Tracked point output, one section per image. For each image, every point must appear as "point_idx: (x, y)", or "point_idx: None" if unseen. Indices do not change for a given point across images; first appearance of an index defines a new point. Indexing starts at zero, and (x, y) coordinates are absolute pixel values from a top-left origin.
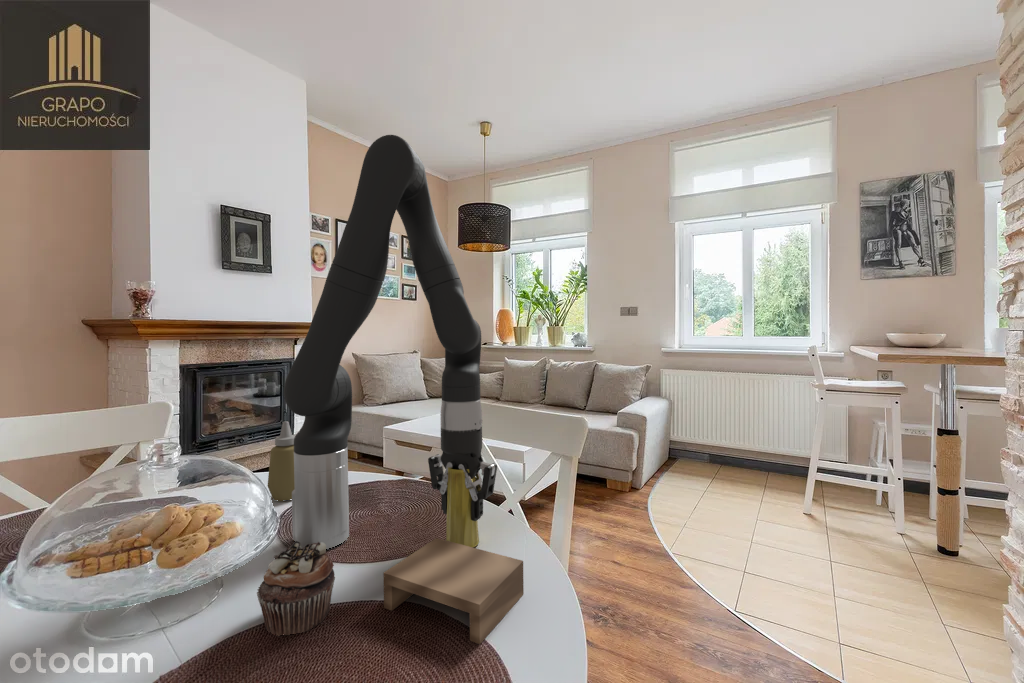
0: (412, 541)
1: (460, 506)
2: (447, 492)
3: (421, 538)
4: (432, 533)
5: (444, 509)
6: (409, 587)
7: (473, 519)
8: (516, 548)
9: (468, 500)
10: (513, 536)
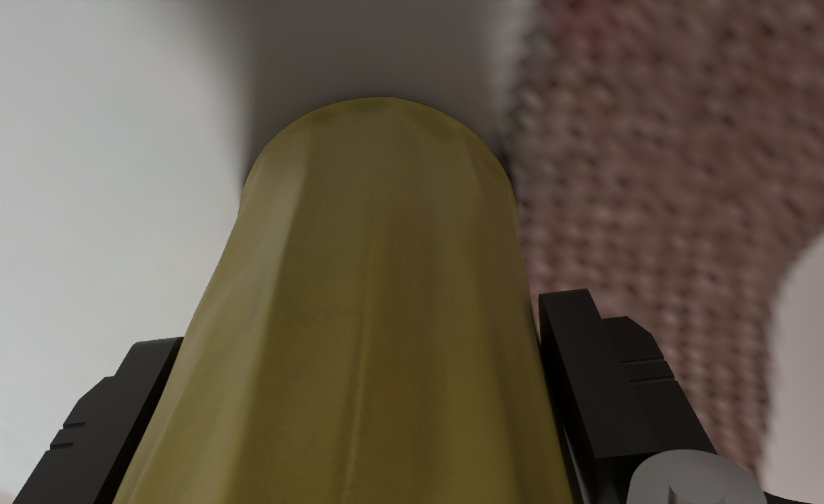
0: (793, 9)
1: (207, 358)
2: (514, 481)
3: (749, 100)
4: (716, 217)
5: (576, 315)
6: None
7: (144, 343)
8: (21, 381)
9: (119, 498)
10: None
